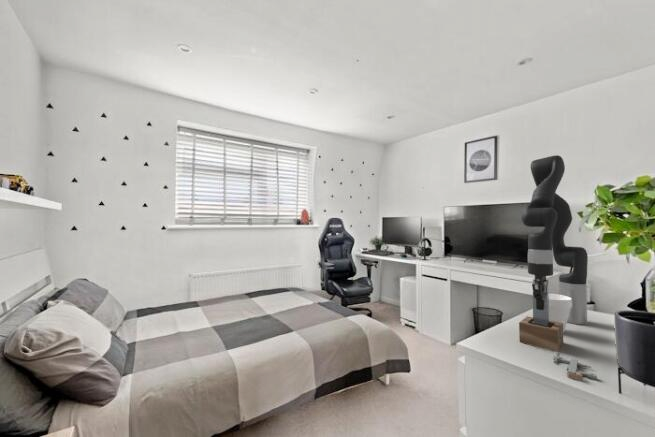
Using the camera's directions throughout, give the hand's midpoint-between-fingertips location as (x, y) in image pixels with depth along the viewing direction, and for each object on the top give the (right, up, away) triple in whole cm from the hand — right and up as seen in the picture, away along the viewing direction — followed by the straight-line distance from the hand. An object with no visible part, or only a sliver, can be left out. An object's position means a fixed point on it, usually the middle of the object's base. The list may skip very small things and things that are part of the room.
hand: (541, 308), depth 105 cm
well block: (-1, -12, -1) cm, 12 cm away
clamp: (-6, -12, -21) cm, 25 cm away
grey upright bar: (-1, -6, -1) cm, 6 cm away
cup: (+14, -13, +11) cm, 22 cm away
